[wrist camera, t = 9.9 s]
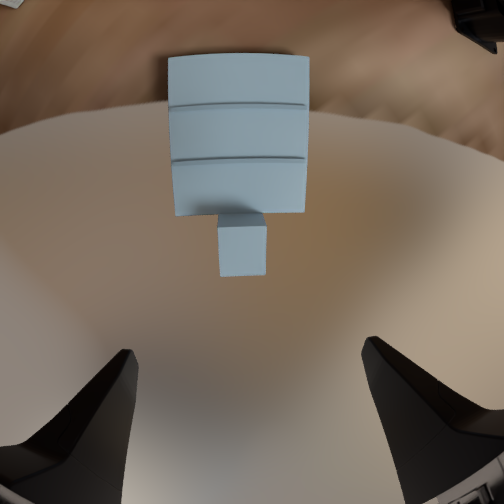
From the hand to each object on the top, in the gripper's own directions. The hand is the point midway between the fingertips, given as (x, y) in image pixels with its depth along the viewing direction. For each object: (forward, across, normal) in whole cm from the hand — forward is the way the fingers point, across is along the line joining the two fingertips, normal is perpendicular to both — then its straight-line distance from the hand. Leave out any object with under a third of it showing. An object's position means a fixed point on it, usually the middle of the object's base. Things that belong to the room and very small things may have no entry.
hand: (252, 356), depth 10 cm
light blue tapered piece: (+13, 0, -5) cm, 14 cm away
